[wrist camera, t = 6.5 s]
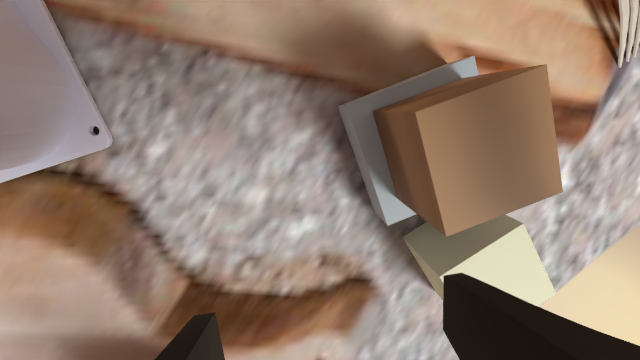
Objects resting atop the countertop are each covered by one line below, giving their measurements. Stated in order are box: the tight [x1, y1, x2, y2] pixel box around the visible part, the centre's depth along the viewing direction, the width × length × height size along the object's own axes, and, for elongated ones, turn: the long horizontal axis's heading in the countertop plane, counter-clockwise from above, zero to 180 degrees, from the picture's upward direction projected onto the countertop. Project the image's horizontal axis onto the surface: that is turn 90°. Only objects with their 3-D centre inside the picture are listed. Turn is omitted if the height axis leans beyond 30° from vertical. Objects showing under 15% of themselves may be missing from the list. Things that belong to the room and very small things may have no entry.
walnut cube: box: [372, 64, 563, 237], centre depth 14 cm, size 5×5×5 cm
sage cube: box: [402, 215, 556, 306], centre depth 18 cm, size 5×5×5 cm
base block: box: [338, 56, 478, 226], centre depth 17 cm, size 7×7×3 cm
